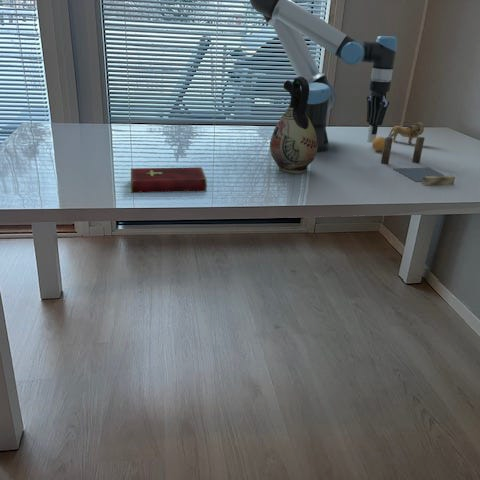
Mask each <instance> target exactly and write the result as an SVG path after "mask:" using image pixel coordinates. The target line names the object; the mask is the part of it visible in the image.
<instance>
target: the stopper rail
mask: <svg viewBox="0 0 480 480" xmlns="http://www.w3.org/2000/svg"><path fill="white" fill-rule="evenodd" d="M444 175H445V174H444ZM455 179H456V177H455V176H453V175H451V174H448V175H445V176H424V177H423V182H421V184H422V185H423V186H425V187H428V186H429V187H430V186H431V187H433V186H435V187H436V186H454V184H455V181H456V180H455Z"/></svg>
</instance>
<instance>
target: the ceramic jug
mask: <svg viewBox="0 0 480 480" xmlns="http://www.w3.org/2000/svg"><path fill="white" fill-rule="evenodd" d="M283 89H284V90H285V91H286V92H288V93H289V95H290V101H289V102H290V103H289V106H288V107H287V109H286V111H284V113H283V114H282V116H280V119H279V120H278V121H277V124H276V125H275V127H274V129H273V132H272V134H271V137H270V141H269V142H270V143H269V144H270V145H269V150H270V151H269V152H270V155H271V157H272V159H273V160H274V162H275V163H276V165H277V167H278V170H280V171H281V172H283V173H287V174H302V173H305V172H307V170H308V166H309V165H310V164H312V162H313V161H314V160H315V158H316V156H317V153H318V152H317V137H316V133H315V130H314V127H313V125H312V123H311V121H310V119H309V117H308V116H307V114H306V107H307V101H308V97H309V84H308V82H307V80H306V79H305V78H304V77H297V76H296V77H295V78H294V79H293V81H292V82H291V81H290V80H288V79H287V80H286V81H285V82H284V83H283Z"/></svg>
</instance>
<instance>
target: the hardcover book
mask: <svg viewBox="0 0 480 480" xmlns="http://www.w3.org/2000/svg"><path fill="white" fill-rule="evenodd" d="M207 183H208V180H207V177H206V175H205V172H204V169H203V167H202V166H198V167H193V166H191V167H147V168H146V167H143V168H142V167H138V168H137V167H134V168H132V167H131V168H130V190H131V194H132V193H133V194H135V193H170V192H171V193H173V192H174V193H175V192H179V193H180V192H207V190H208V189H207V188H208V186H207V185H208V184H207Z"/></svg>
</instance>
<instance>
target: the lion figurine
mask: <svg viewBox="0 0 480 480" xmlns="http://www.w3.org/2000/svg"><path fill="white" fill-rule="evenodd" d="M391 128H392V129H390V133H389V135H388V136H387V137H390V138H393V143H394V142H395V144H396V143H398V141H397V140H396V138H397V136H398V134H399V135H400V136H402V137H406V138H408V142H407V143H408V145H409V146H413V144H412V143H413V142H412V140H413V139H417V137H420V136H421V135H422V134H423V133H424V129H425V124H423V123H422V122H417V123H415V124H413V125H410V126H408V127H404V126H400V125H395V126H393V127H391Z"/></svg>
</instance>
